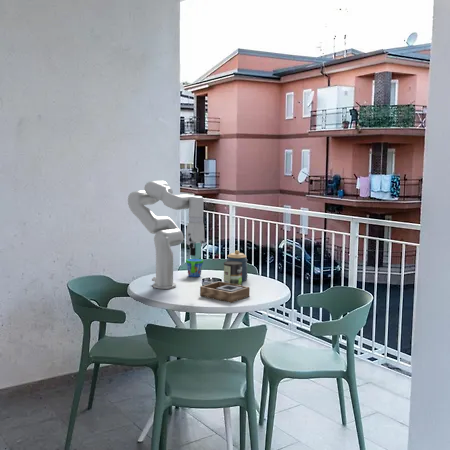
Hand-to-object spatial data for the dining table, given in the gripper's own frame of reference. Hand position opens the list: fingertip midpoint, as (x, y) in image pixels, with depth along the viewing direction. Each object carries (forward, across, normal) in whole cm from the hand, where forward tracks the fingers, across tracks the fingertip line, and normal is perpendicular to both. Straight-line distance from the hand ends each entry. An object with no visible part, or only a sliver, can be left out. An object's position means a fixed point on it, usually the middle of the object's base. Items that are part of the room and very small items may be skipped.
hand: (195, 254), depth 268 cm
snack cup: (+21, -32, -27) cm, 47 cm away
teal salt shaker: (+2, 0, 0) cm, 2 cm away
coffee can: (+21, -24, +7) cm, 33 cm away
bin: (+21, -6, +15) cm, 27 cm away
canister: (+21, -42, -3) cm, 47 cm away
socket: (+20, -6, +18) cm, 28 cm away
